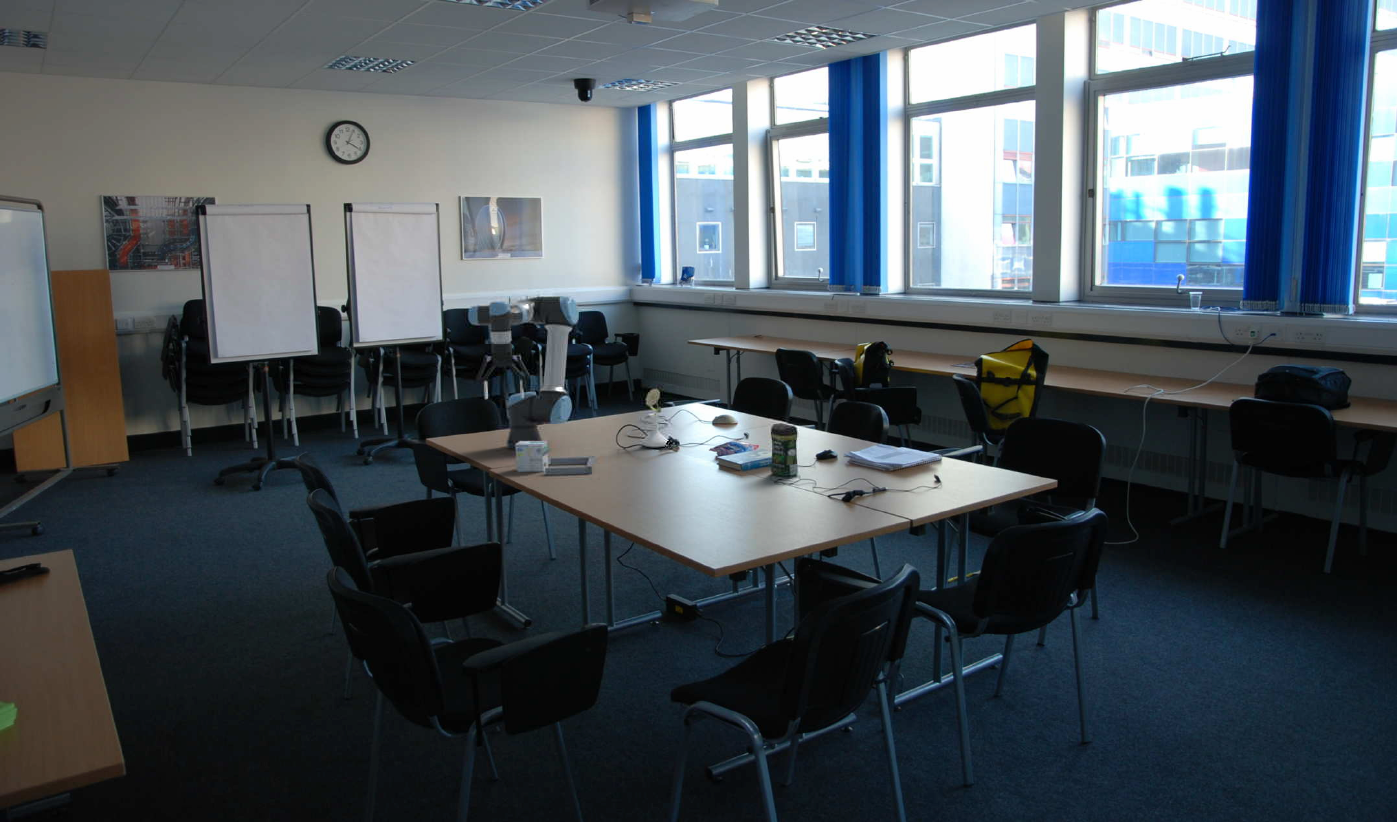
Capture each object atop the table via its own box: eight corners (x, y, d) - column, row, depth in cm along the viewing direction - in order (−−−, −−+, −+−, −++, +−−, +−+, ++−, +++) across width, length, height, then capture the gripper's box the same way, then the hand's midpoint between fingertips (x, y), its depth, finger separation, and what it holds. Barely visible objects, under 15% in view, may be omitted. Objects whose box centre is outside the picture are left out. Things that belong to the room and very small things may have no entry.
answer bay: (551, 463, 378) (550, 457, 378) (594, 462, 379) (594, 456, 378) (545, 475, 358) (545, 468, 358) (591, 473, 359) (591, 467, 359)
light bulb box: (548, 468, 371) (547, 440, 369) (544, 471, 364) (542, 443, 362) (521, 468, 372) (519, 440, 370) (516, 472, 365) (514, 443, 363)
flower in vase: (639, 445, 412) (637, 386, 408) (665, 443, 415) (663, 385, 411) (646, 450, 400) (644, 390, 396) (673, 448, 403) (671, 389, 399)
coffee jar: (767, 474, 352) (766, 423, 349) (784, 470, 356) (783, 421, 353) (784, 478, 344) (784, 427, 341) (801, 475, 348) (801, 424, 346)
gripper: (466, 344, 363) (469, 400, 366) (533, 342, 364) (536, 398, 367) (470, 342, 370) (473, 397, 373) (535, 341, 371) (538, 395, 374)
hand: (504, 398), depth 370 cm, fingers open, 13 cm apart
